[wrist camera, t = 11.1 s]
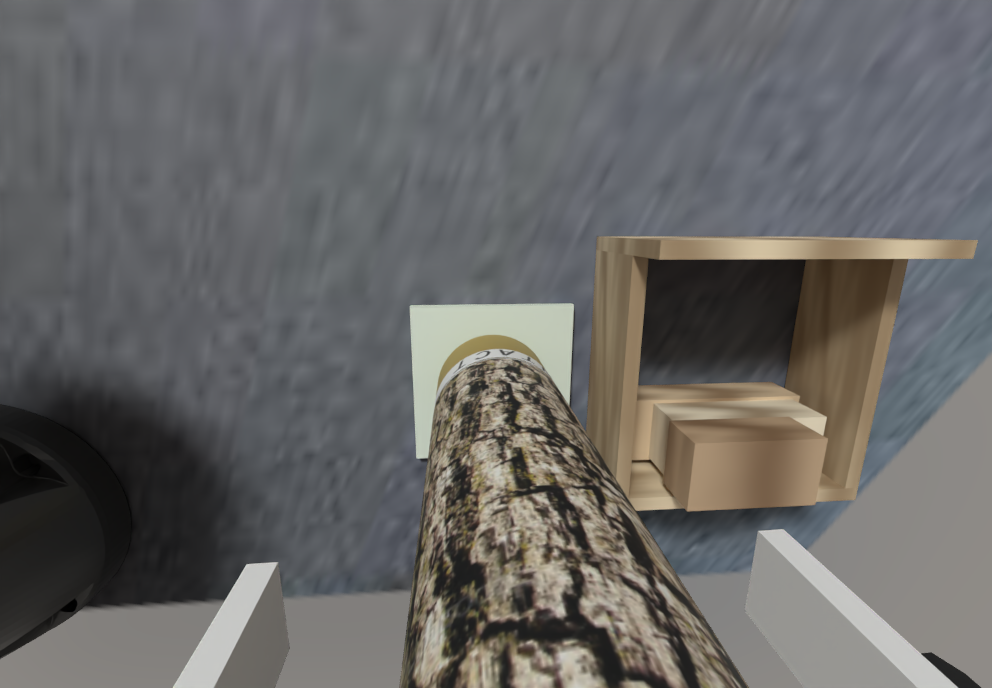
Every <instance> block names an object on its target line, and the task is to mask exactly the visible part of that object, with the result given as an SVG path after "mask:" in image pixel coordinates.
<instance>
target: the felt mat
mask: <svg viewBox="0 0 992 688" xmlns="http://www.w3.org/2000/svg"><path fill="white" fill-rule="evenodd" d="M573 315H574V305H573V304H572V303H568V304H479V305H411V306H410V322H411V345H412V367H413V390H414V412H415V435H416V457H417V459H418V458H428V454H429V446H430V438H431V430H432V422H433V414H434V406H435V399H436V393H437V385H438V378H439V374H440V371H441V369H442V366H443V365H444V363H445V361H446V360H447V358H448V357H449V355H450V354H451V353H452V352H453V351H454V350H455V349H456V348H457V347H459V346H460V345H461V344H463V343H465V342H466V341H468V340H470V339H473V338H476V337H479V336H484V335H502V336H507V337H511V338H513V339H516V340H518V341H520V342H522V343H523V344H525V345H526V346H527V347H529V348H530V349H531V350H532V351H533V352H534V353H535V354H536V356H537V357H538V358H539V360H540V362H541V363H542V365H543V366H544V368H545V369H546V371H547V372H548V374H549V375H550V376H551V378H552V381H554V383H555V384H556V386H557V387H558V389H559V391H560V392H561V394H562V395H563V397H564V398H565V400H566V402H567V403H568V405H570V382H571V360H572V338H573Z"/></svg>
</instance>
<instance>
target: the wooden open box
mask: <svg viewBox="0 0 992 688" xmlns="http://www.w3.org/2000/svg"><path fill="white" fill-rule="evenodd" d="M977 242H978V240H938V239H895V238H852V237H597V247H596V265H595V283H594V301H593V319H592V337H591V355H590V373H589V391H588V409H587V427H586V433H587V434H588V436H589V438H590V439H591V441H592V442H593V444H594V445H595V447H596V449H597V450H598V452H599V453H600V455H601V456H602V458H603V460H604V461H605V463H606V464H607V466H608V467H609V469H610V471H611V472H612V474H613V475H614V477H615V478H616V480H617V481H618V483H619V485H620V486H621V488H622V489H623V491H624V492H625V494H626V496H627V497H628V499H629V500H630V502H631V503H632V505H633V507H634V508H635V510H636V511H642V510H662V509H682V508H684V507H683V506H682V505H681V503H680V502H679V501H678V500H677V499H676V497H675V496H674V495H673V494H672V492H671V491H670V490H669V489H668V488H667V486H666V485H665V484H664V483H663V479H664V475H663V473H662V472H661V471H660V470H659V469H658V467H657V466H656V465H655V464H654V463H653V462H652V460H632V451H633V439H634V427H635V415H636V403H637V391H638V379H639V367H640V355H641V343H642V331H643V319H644V307H645V295H646V283H647V271H648V259H649V258H652V259H658V260H707V259H806V263H805V269H804V275H803V281H802V287H801V293H800V299H799V305H798V311H797V317H796V323H795V329H794V335H793V341H792V347H791V353H790V359H789V365H788V371H787V377H786V383H785V389H787V390H789V391H791V392H793V393H795V394H797V395H799V396H800V399H799V403H800V404H802V405H804V406H806V407H808V408H810V409H812V410H814V411H816V412H818V413H820V414H822V415H824V416H826V417H827V419H826V424H825V430H824V435H823V436H824V437H826V438H828V442H827V447H826V452H825V457H824V462H823V467H822V472H821V477H820V482H819V487H818V493H817V498H816V502H822V501H843V500H855V498H856V494H857V489H858V485H859V480H860V476H861V471H862V467H863V462H864V457H865V453H866V448H867V444H868V439H869V435H870V430H871V426H872V421H873V417H874V412H875V408H876V403H877V399H878V394H879V390H880V385H881V380H882V376H883V371H884V367H885V362H886V358H887V353H888V349H889V344H890V340H891V335H892V331H893V326H894V322H895V317H896V313H897V308H898V303H899V299H900V294H901V290H902V285H903V281H904V276H905V272H906V267H907V263H908V259H973V257H974V253H975V249H976V246H977Z"/></svg>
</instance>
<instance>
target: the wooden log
mask: <svg viewBox="0 0 992 688" xmlns="http://www.w3.org/2000/svg"><path fill="white" fill-rule="evenodd" d="M399 688H749V687H748V685H747V684H746V682H745V681H744V679H743V677H742V676H741V674H740V673H739V671H738V670H737V668H736V666H735V665H734V663H733V662H732V660H731V659H730V657H729V656H728V654H727V652H726V651H725V649H724V648H723V646H722V645H721V643H720V641H719V640H718V638H717V637H716V635H715V634H714V632H713V630H712V629H711V627H710V626H709V624H708V623H707V621H706V619H705V618H704V616H703V615H702V613H701V612H700V610H699V609H698V607H697V605H696V604H695V602H694V601H693V599H692V597H691V596H690V594H689V593H688V591H687V590H686V588H685V587H684V585H683V584H682V582H681V580H680V579H679V577H678V576H677V574H676V572H675V571H674V569H673V568H672V566H671V565H670V563H669V561H668V560H667V558H666V557H665V555H664V554H663V552H662V550H661V549H660V547H659V546H658V544H657V543H656V541H655V539H654V538H653V536H652V535H651V533H650V532H649V530H648V529H647V527H646V525H645V524H644V522H643V521H642V519H641V518H640V516H639V514H638V513H637V511H636V510H635V508H634V507H633V505H632V503H631V502H630V500H629V499H628V497H627V496H626V494H625V492H624V491H623V489H622V488H621V486H620V485H619V483H618V481H617V480H616V478H615V477H614V475H613V474H612V472H611V471H610V469H609V467H608V466H607V464H606V463H605V461H604V460H603V458H602V456H601V455H600V453H599V452H598V450H597V449H596V447H595V445H594V444H593V442H592V441H591V439H590V438H589V436H588V434H587V433H586V431H585V430H584V428H583V427H582V425H581V424H580V422H579V420H578V419H577V417H576V416H575V414H574V413H573V411H572V409H571V408H570V406H569V405H568V403H567V402H566V400H565V398H564V397H563V395H562V394H561V392H560V391H559V389H558V387H557V386H556V384H555V383H554V381H552V378H551V376H550V375H549V374H548V372H547V371H546V369H545V368H544V366H543V365H542V363H541V362H540V360H539V358H538V357H537V356H536V354H535V353H534V352H533V351H532V350H531V349H530V348H529V347H527V346H526V345H525V344H523V343H522V342H520V341H518V340H516V339H513V338H511V337H507V336H502V335H484V336H479V337H476V338H473V339H470V340H468V341H466V342H465V343H463V344H461V345H460V346H459V347H457V348H456V349H455V350H454V351H453V352H452V353H451V354H450V355H449V357H448V358H447V360H446V361H445V363H444V365H443V366H442V369H441V371H440V374H439V378H438V385H437V393H436V399H435V406H434V414H433V422H432V430H431V438H430V446H429V454H428V462H427V470H426V478H425V486H424V494H423V502H422V510H421V518H420V526H419V534H418V542H417V550H416V558H415V566H414V574H413V582H412V590H411V598H410V607H409V614H408V622H407V630H406V638H405V647H404V654H403V662H402V671H401V679H400V686H399Z"/></svg>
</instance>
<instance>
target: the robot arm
mask: <svg viewBox="0 0 992 688" xmlns="http://www.w3.org/2000/svg"><path fill="white" fill-rule="evenodd" d="M130 538H131V516H130V511H129V506H128V503H127V500H126V497H125V494H124V492H123V489H122V487H121V485H120V483H119V482H118V480H117V478H116V476H115V475H114V473H113V472H112V470H111V469H110V468H109V466H108V465H107V464H106V463H105V461H104V460H103V459H102V458H101V457H100V456H99V455H98V454H97V453H96V452H95V451H94V450H93V449H92V448H91V447H90V446H89V445H88V444H87V443H85V442H84V441H83V440H81V439H80V438H79V437H78V436H76V435H75V434H73V433H72V432H70V431H69V430H67V429H65V428H64V427H62V426H60V425H58V424H56V423H55V422H53V421H51V420H48V419H46V418H44V417H42V416H39V415H37V414H34V413H31V412H28V411H25V410H22V409H18V408H14V407H10V406H5V405H0V659H1V658H3V657H4V656H6V655H8V654H10V653H11V652H13V651H15V650H17V649H18V648H20V647H22V646H23V645H25V644H27V643H29V642H30V641H32V640H34V639H36V638H37V637H39V636H41V635H42V634H44V633H46V632H47V631H49V630H51V629H52V628H55V627H56V626H58V625H60V624H61V623H63V622H64V621H66V620H67V619H69V618H70V617H72V616H73V615H74V614H76V613H77V612H78V611H80V610H81V609H82V608H83V607H84V606H85V605H86V604H87V603H88V602H89V601H90V600H91V599H92V598H93V597H94V596H95V595H96V594H97V593H98V592H99V591H100V590H101V589H102V588H103V587H104V586H105V585H106V584H107V583H108V582H109V581H110V580H111V579H112V578H113V576H114V575H115V574H116V573H117V571H118V570H119V568H120V567H121V565H122V563H123V561H124V559H125V557H126V554H127V551H128V548H129V544H130ZM745 612H746V613H747V614H748V615H749V617H750V618H751V620H752V621H753V622H754V623H755V625H756V626H757V627H758V629H759V630H760V631H761V633H762V634H763V635H764V636H765V638H766V639H767V640H768V642H769V643H770V644H771V646H772V647H773V648H774V649H775V651H776V652H777V653H778V654H779V656H780V657H781V658H782V660H783V661H784V662H785V664H786V665H787V666H788V668H789V669H790V670H791V671H792V673H793V674H794V675H795V677H796V678H797V679H798V680H799V682H800V683H801V684H802V686H803V687H804V688H981V687H980V686H979V685H978V684H976V683H975V682H974V681H973V680H972V679H970V678H969V677H968V676H967V675H966V674H965V673H963V672H961V671H960V670H958V669H957V668H955V667H954V666H952V665H950V664H949V663H947V662H945V661H944V660H942V659H941V658H939V657H938V656H936V655H934V654H933V653H922V654H920V653H919V652H918V651H917V650H916V649H915V648H914V647H913V646H911V645H910V644H909V643H908V642H907V641H906V640H905V639H904V638H903V637H902V636H901V635H899V634H898V633H897V632H896V631H895V630H894V629H893V628H892V627H890V625H888V624H887V623H886V622H885V621H884V620H883V619H882V618H881V617H880V616H878V615H877V614H876V613H875V612H874V611H873V610H872V609H871V608H869V606H867V605H866V604H865V603H864V602H863V601H862V600H861V599H860V598H858V597H857V596H856V595H855V594H854V593H853V592H852V591H851V590H850V589H849V588H848V587H846V586H845V585H844V584H843V583H842V582H841V581H840V580H839V579H838V578H836V577H835V576H834V575H833V574H832V573H831V572H830V571H829V570H828V569H827V568H825V567H824V566H823V565H822V564H821V563H820V562H819V561H818V560H817V559H816V558H814V557H813V556H812V555H811V554H810V553H809V552H808V551H807V550H806V549H804V548H803V547H802V546H801V545H800V544H799V543H798V542H797V541H796V540H795V539H793V538H792V537H791V536H790V535H789V534H788V533H787V532H786V531H785V530H783V529H781V530H765V531H758V535H757V541H756V547H755V553H754V559H753V565H752V571H751V577H750V583H749V589H748V595H747V601H746V606H745ZM289 649H290V647H289V640H288V632H287V625H286V618H285V610H284V603H283V595H282V588H281V581H280V573H279V566H278V562H273V563H257V564H247V565H246V566H245V568H244V570H243V571H242V573H241V575H240V576H239V578H238V580H237V581H236V583H235V585H234V586H233V588H232V590H231V591H230V593H229V595H228V596H227V598H226V600H225V601H224V603H223V605H222V606H221V608H220V610H219V611H218V613H217V615H216V616H215V618H214V620H213V621H212V623H211V625H210V626H209V628H208V629H207V631H206V633H205V635H204V636H203V638H202V639H201V641H200V643H199V645H198V646H197V648H196V649H195V651H194V653H193V655H192V656H191V658H190V659H189V661H188V663H187V664H186V666H185V668H184V670H183V671H182V673H181V674H180V676H179V678H178V680H177V681H176V683H175V684H174V686H173V688H275V686H276V683H277V680H278V678H279V675H280V673H281V670H282V667H283V665H284V662H285V659H286V657H287V654H288V651H289Z"/></svg>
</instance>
